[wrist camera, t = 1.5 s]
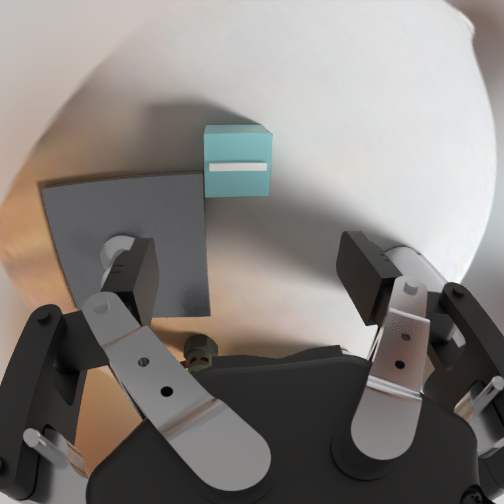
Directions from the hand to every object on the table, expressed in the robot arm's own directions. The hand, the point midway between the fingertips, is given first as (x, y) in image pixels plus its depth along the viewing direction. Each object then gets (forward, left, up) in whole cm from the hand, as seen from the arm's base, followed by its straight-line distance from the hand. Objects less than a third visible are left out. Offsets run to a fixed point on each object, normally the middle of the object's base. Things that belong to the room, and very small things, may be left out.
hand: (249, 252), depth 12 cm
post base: (+12, +10, -18) cm, 24 cm away
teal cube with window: (0, -1, -18) cm, 18 cm away
